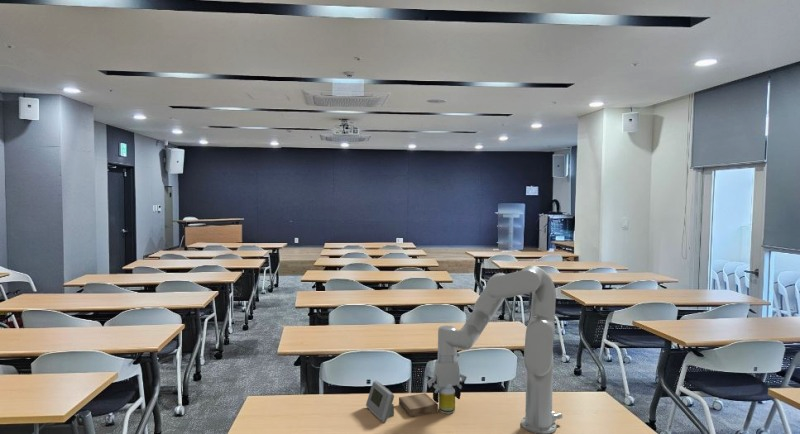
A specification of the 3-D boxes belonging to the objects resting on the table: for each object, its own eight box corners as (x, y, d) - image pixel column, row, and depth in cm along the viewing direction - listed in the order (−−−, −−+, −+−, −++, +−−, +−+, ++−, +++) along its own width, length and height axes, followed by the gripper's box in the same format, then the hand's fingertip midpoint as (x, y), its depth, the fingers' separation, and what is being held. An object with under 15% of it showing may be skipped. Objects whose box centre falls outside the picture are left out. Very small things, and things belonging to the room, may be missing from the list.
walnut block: (425, 400, 195) (425, 393, 195) (437, 412, 184) (438, 404, 183) (398, 404, 190) (399, 397, 190) (410, 417, 179) (410, 409, 179)
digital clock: (365, 406, 189) (365, 380, 188) (386, 403, 191) (386, 378, 191) (374, 424, 173) (374, 396, 173) (397, 421, 176) (397, 394, 175)
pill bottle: (454, 414, 181) (454, 385, 181) (437, 413, 182) (438, 384, 182) (455, 407, 188) (455, 379, 187) (439, 406, 189) (439, 378, 188)
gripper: (461, 352, 191) (461, 392, 192) (423, 357, 185) (423, 399, 185) (470, 357, 184) (470, 400, 185) (431, 363, 178) (431, 406, 178)
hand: (446, 399), depth 185 cm, fingers open, 9 cm apart
